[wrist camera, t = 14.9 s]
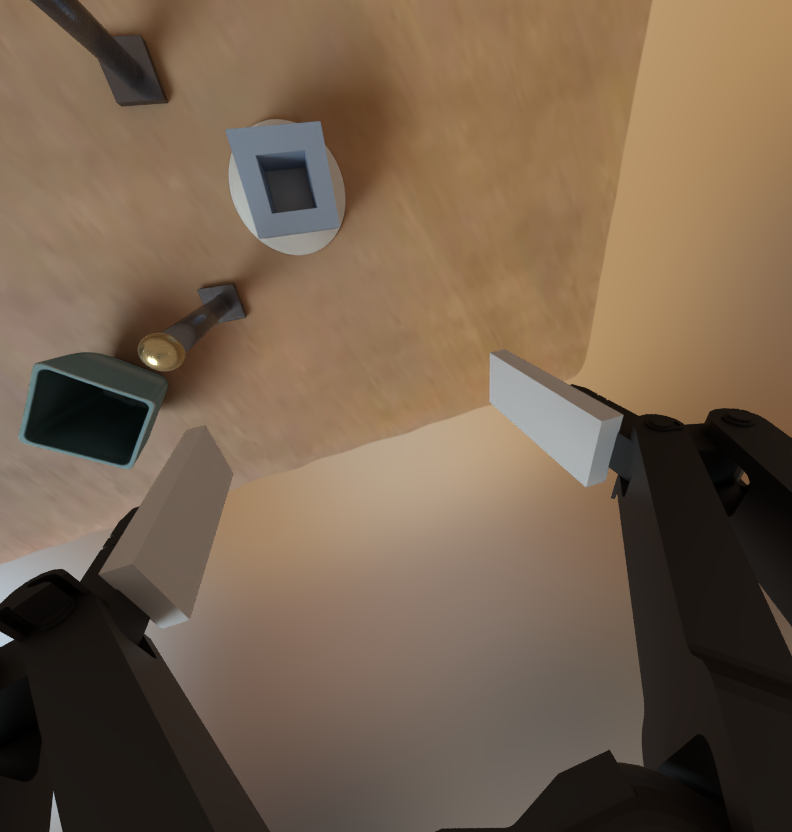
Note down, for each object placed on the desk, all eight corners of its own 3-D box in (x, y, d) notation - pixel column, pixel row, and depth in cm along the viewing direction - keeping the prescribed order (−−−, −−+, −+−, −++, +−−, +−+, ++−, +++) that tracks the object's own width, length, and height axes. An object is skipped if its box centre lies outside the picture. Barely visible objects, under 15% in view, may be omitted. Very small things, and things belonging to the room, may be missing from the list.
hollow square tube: (267, 238, 32) (258, 238, 26) (241, 151, 29) (225, 129, 23) (333, 229, 33) (340, 227, 27) (317, 144, 30) (320, 121, 24)
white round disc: (254, 262, 33) (253, 262, 33) (209, 126, 28) (208, 124, 27) (353, 246, 35) (354, 247, 35) (331, 116, 29) (332, 114, 29)
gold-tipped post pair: (213, 322, 35) (138, 391, 19) (94, 43, 24) (-321, -345, 8) (246, 316, 36) (199, 379, 20) (145, 40, 25) (-152, -327, 9)
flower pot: (76, 400, 36) (14, 443, 28) (94, 333, 33) (32, 361, 25) (164, 427, 40) (131, 471, 32) (186, 369, 37) (156, 402, 29)
